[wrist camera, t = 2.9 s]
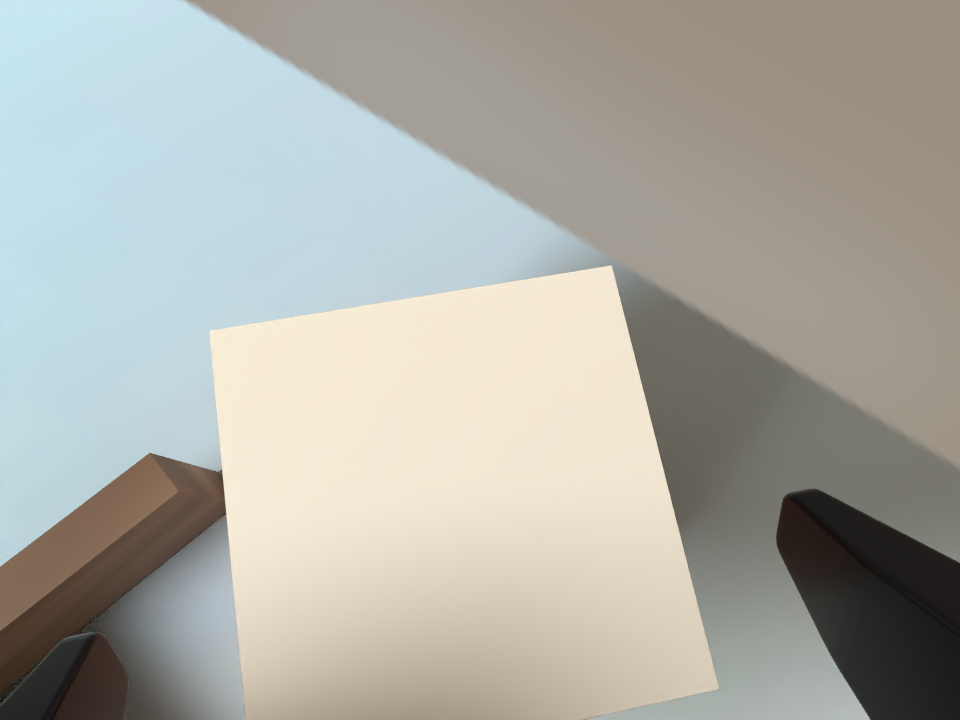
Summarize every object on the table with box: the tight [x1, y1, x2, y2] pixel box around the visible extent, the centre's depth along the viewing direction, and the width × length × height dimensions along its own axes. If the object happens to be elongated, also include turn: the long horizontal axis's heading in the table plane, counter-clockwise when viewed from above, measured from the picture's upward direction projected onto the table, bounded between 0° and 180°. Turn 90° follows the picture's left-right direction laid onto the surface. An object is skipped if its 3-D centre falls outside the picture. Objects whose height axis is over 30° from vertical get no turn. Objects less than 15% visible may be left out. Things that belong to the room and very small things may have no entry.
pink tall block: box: [209, 265, 719, 720], centre depth 13 cm, size 5×5×10 cm
